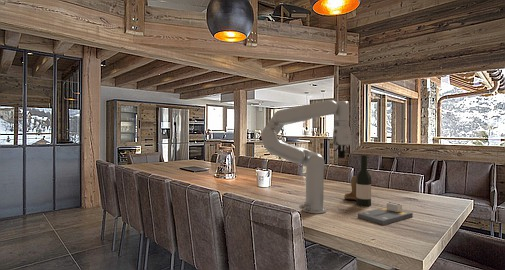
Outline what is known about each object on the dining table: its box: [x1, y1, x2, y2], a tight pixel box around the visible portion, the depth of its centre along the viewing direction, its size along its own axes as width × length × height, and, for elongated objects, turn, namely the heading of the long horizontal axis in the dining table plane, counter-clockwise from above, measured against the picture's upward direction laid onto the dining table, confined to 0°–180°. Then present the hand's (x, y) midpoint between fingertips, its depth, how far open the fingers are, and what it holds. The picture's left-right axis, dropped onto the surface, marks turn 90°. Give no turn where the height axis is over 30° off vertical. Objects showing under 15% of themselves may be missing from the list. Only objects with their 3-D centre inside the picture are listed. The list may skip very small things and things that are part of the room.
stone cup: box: [344, 175, 357, 201], centre depth 189 cm, size 15×12×15 cm
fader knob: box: [386, 201, 403, 212], centre depth 155 cm, size 4×6×4 cm, turn 33°
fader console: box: [357, 206, 413, 226], centre depth 151 cm, size 25×14×2 cm, turn 123°
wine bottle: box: [355, 153, 372, 208], centre depth 176 cm, size 8×8×30 cm
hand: (341, 157), depth 162 cm, fingers closed
